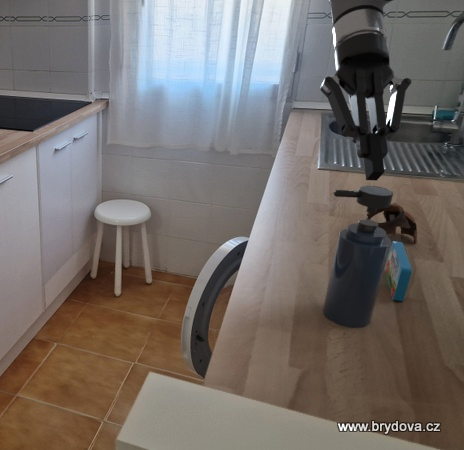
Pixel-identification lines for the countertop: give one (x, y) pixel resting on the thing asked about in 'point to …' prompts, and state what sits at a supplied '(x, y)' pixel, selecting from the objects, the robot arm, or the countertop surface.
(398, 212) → the brown arched figure
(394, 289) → the flat blue box
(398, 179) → the countertop surface
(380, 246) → the dispenser
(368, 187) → the pump head
